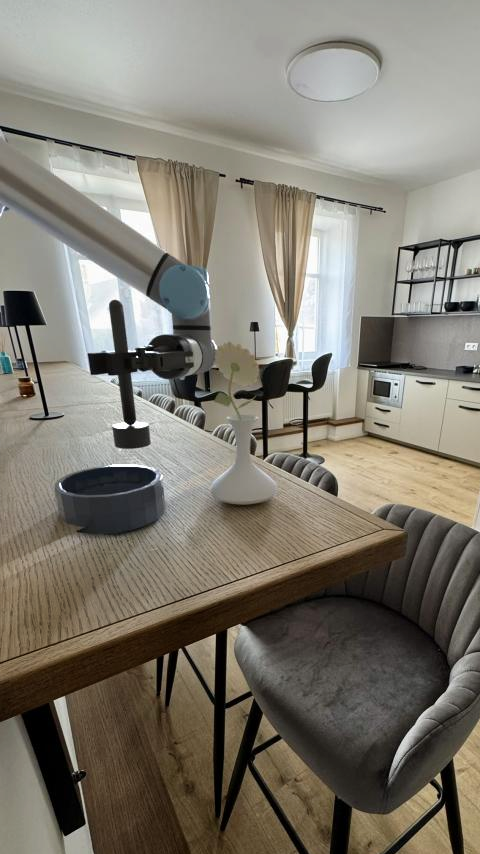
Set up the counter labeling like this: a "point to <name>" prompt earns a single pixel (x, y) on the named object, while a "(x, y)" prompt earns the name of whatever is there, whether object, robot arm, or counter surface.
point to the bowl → (111, 498)
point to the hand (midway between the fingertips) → (100, 364)
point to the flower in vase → (240, 433)
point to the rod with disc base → (126, 390)
